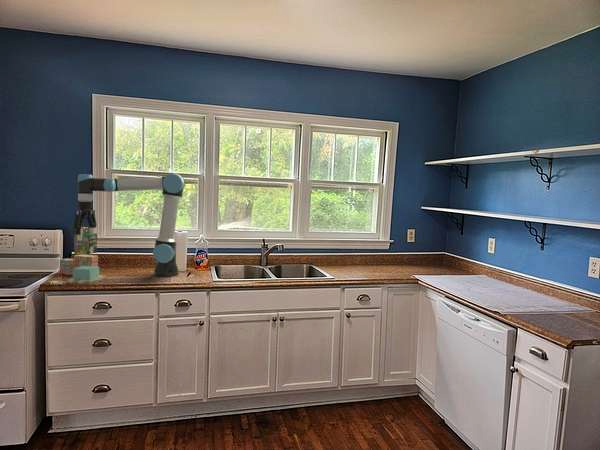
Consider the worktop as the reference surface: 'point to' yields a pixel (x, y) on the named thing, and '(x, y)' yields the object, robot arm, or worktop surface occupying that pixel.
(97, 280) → the build plate
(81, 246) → the chalk box
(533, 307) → the worktop surface
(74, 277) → the brick
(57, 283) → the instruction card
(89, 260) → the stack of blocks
